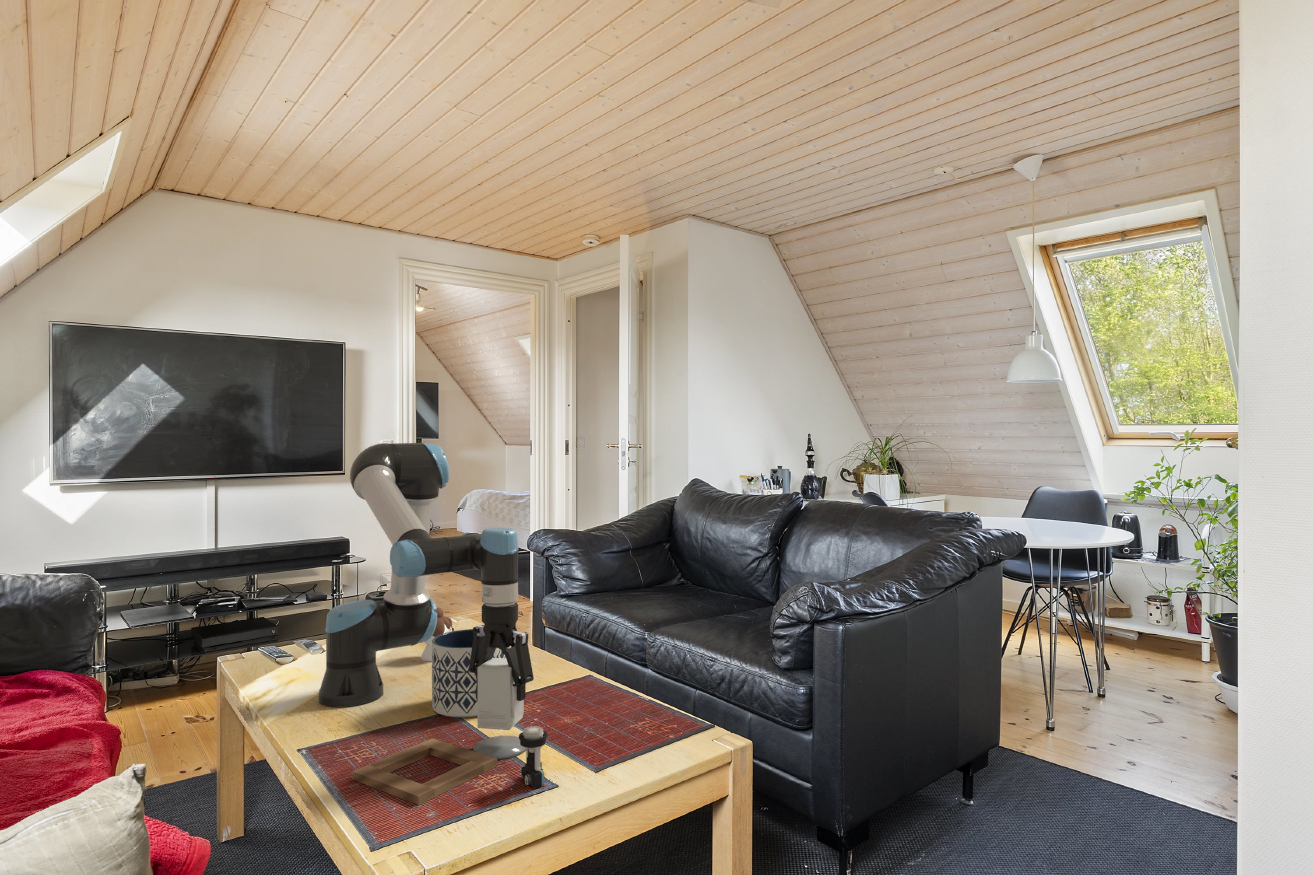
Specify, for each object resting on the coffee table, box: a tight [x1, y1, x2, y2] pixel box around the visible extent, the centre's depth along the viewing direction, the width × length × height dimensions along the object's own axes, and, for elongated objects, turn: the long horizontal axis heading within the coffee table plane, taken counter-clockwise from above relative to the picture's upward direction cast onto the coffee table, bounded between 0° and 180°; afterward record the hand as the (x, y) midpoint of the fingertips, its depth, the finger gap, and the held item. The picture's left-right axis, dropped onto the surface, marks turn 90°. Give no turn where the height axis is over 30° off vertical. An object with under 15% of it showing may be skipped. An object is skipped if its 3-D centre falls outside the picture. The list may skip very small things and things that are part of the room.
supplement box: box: [477, 658, 524, 731], centre depth 157 cm, size 7×7×13 cm
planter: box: [431, 628, 506, 719], centre depth 183 cm, size 18×18×16 cm
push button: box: [518, 725, 549, 789], centre depth 142 cm, size 7×5×10 cm
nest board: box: [352, 738, 498, 806], centre depth 146 cm, size 19×19×2 cm
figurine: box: [420, 607, 453, 663], centre depth 224 cm, size 10×9×15 cm
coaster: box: [473, 735, 526, 761], centre depth 157 cm, size 11×11×1 cm
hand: (500, 710), depth 157 cm, fingers closed on supplement box, 9 cm apart
